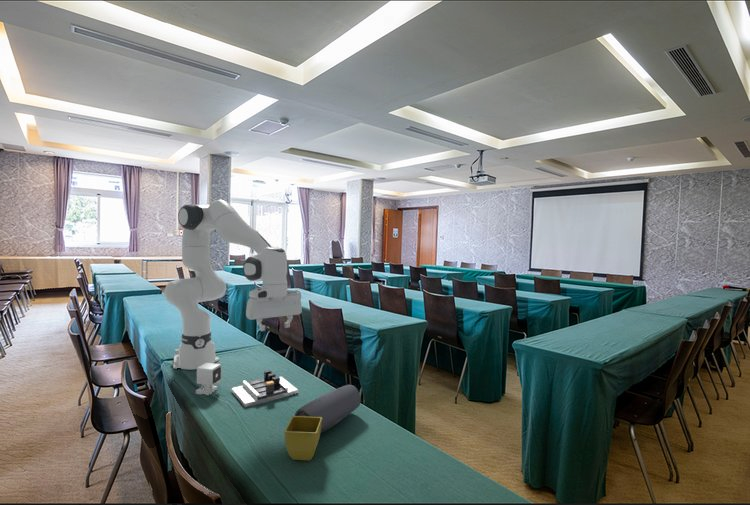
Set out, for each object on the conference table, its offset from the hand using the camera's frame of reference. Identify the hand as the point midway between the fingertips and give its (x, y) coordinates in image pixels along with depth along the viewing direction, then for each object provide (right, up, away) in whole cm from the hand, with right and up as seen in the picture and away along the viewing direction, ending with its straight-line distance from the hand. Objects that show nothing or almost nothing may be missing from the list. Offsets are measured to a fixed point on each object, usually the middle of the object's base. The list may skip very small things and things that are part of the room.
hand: (275, 329), depth 139 cm
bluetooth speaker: (+22, -28, -17) cm, 39 cm away
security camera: (-26, -25, +4) cm, 36 cm away
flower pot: (+17, -28, -34) cm, 47 cm away
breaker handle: (-2, -23, -1) cm, 23 cm away
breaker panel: (-5, -25, +4) cm, 26 cm away
